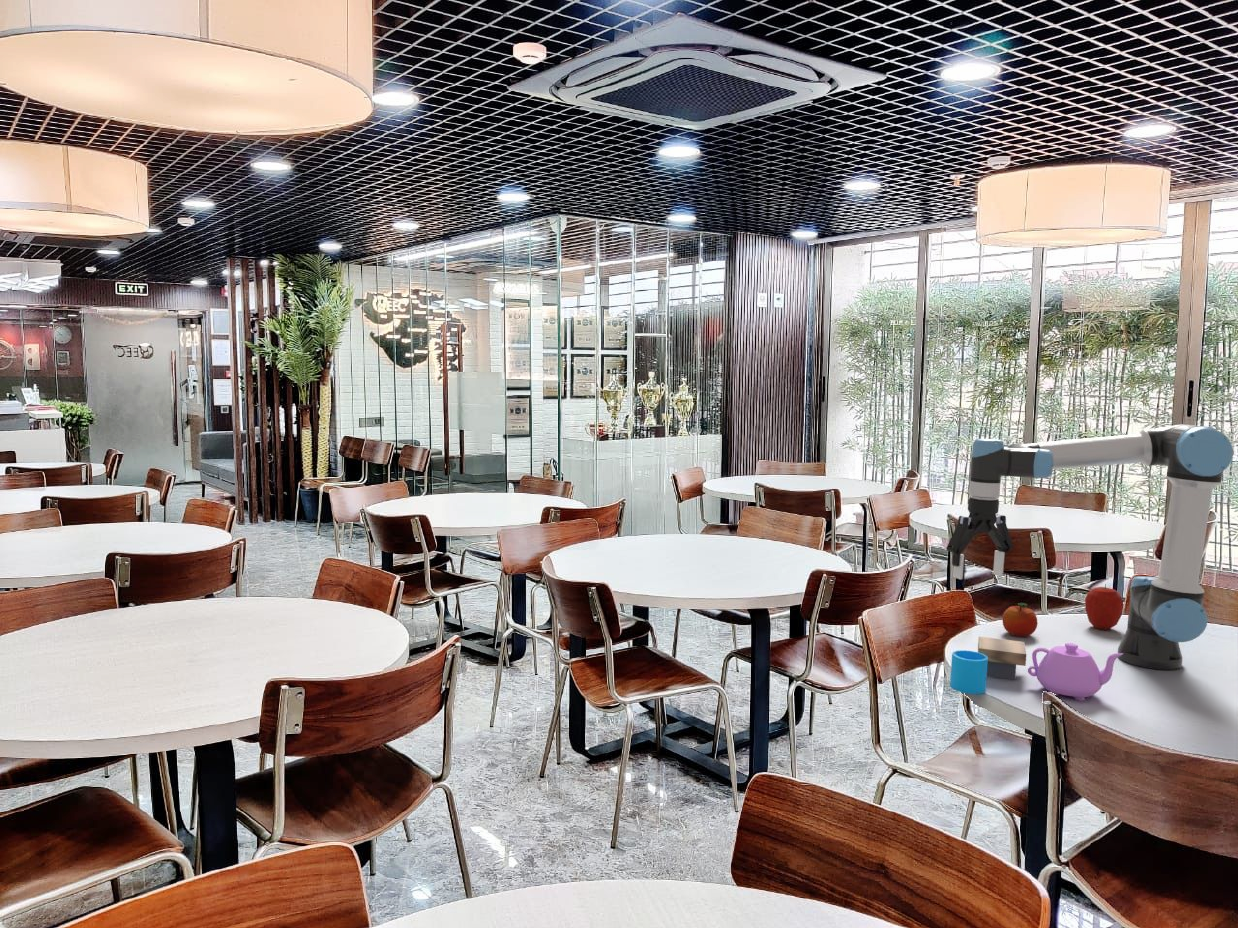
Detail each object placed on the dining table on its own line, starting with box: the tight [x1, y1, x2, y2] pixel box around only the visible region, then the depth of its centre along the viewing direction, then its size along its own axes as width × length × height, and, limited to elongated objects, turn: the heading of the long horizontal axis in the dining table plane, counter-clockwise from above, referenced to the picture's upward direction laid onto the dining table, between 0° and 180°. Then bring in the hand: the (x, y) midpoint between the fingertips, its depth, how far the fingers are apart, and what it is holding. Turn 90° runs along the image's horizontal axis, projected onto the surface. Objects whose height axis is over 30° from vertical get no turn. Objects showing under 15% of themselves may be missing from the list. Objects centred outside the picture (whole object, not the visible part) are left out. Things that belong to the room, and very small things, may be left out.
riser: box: [987, 661, 1017, 681], centre depth 231 cm, size 7×7×4 cm
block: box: [977, 636, 1027, 667], centre depth 231 cm, size 11×11×3 cm
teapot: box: [1027, 642, 1123, 702], centre depth 217 cm, size 20×14×12 cm
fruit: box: [1001, 602, 1039, 638], centre depth 266 cm, size 10×10×10 cm
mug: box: [949, 649, 988, 695], centre depth 222 cm, size 12×8×8 cm
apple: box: [1084, 584, 1124, 631], centre depth 274 cm, size 10×10×14 cm
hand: (977, 576), depth 240 cm, fingers open, 13 cm apart
